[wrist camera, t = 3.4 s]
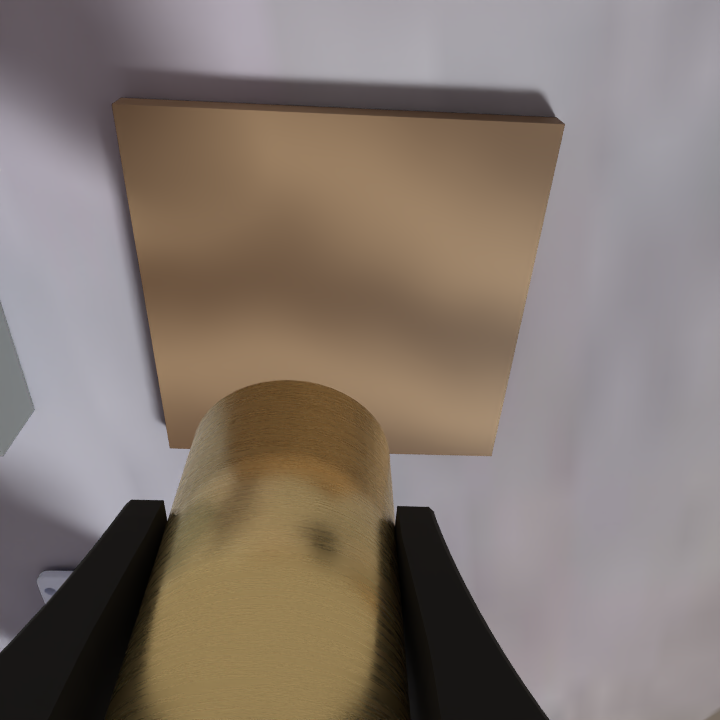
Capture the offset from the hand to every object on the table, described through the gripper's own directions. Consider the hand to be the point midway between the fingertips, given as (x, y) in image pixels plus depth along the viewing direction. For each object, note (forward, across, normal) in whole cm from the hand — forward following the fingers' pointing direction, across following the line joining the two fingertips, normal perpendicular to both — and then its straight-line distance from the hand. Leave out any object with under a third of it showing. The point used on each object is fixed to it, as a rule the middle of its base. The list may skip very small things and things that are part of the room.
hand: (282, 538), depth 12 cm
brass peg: (+2, 0, 0) cm, 2 cm away
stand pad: (+10, -1, 0) cm, 10 cm away
